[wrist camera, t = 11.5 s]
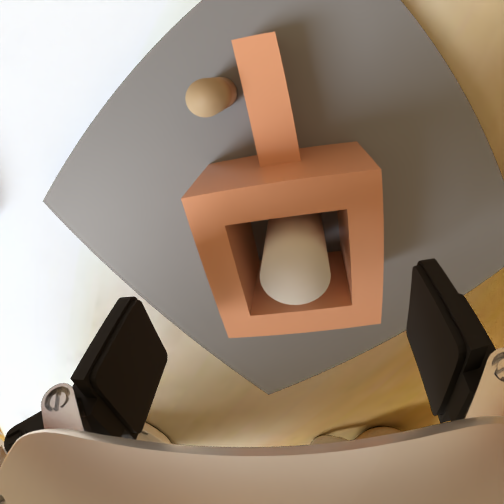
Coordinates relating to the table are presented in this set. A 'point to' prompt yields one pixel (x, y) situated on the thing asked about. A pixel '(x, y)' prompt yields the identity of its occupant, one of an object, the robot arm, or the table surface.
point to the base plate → (309, 134)
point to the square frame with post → (286, 211)
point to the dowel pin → (210, 96)
